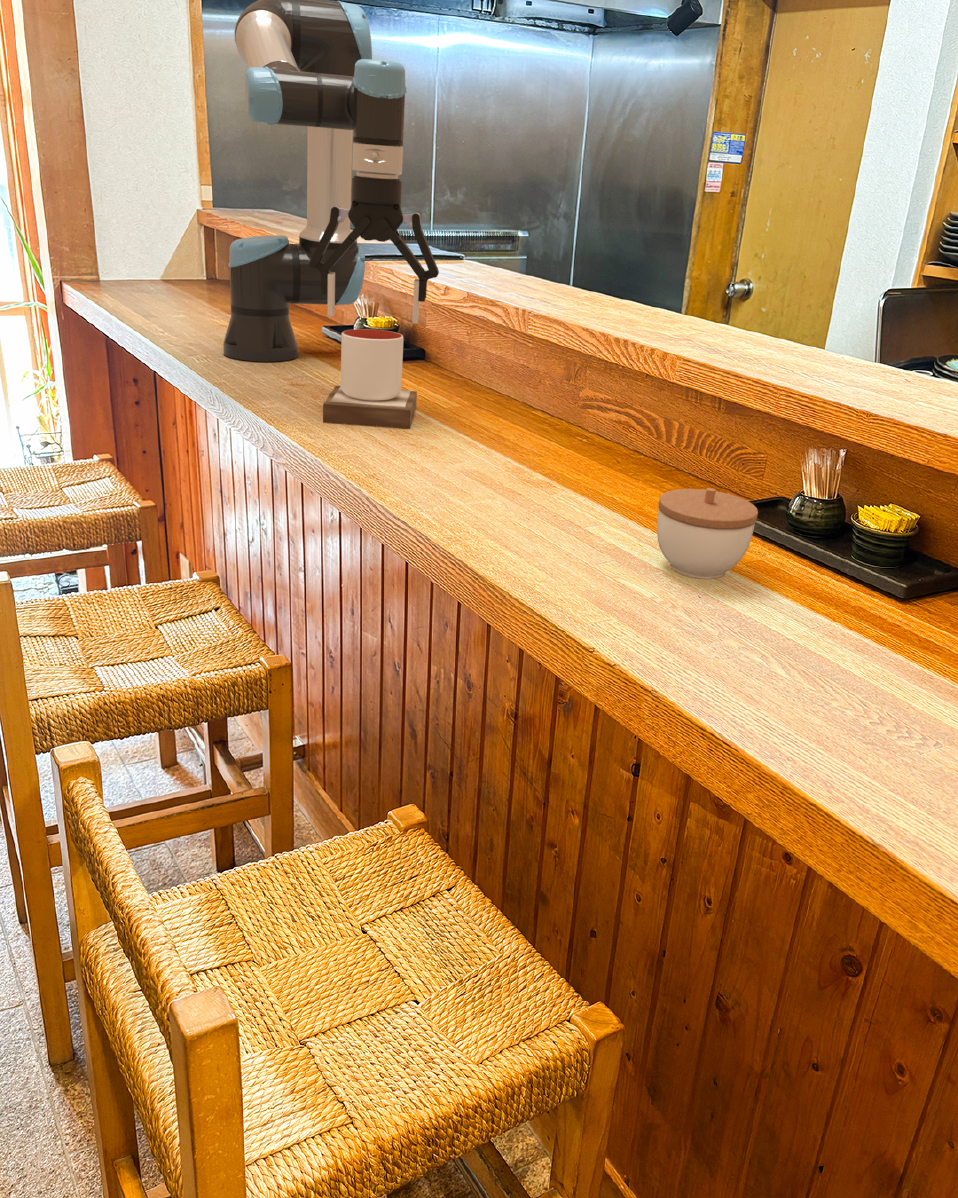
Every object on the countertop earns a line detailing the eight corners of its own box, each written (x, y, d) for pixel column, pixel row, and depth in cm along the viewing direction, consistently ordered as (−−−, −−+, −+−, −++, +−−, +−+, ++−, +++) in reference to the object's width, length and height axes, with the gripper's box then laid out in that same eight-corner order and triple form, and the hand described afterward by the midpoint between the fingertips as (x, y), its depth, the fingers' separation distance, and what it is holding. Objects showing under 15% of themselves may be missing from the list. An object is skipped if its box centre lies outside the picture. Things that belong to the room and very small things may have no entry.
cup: (392, 404, 157) (395, 341, 153) (332, 398, 159) (333, 335, 155) (407, 392, 166) (409, 332, 162) (350, 386, 168) (351, 326, 164)
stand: (335, 402, 170) (335, 383, 169) (416, 408, 170) (416, 389, 169) (322, 422, 157) (323, 402, 156) (409, 428, 158) (410, 408, 156)
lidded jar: (762, 571, 111) (778, 492, 107) (716, 596, 104) (731, 512, 100) (680, 544, 117) (693, 469, 113) (631, 565, 110) (642, 486, 106)
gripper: (290, 169, 145) (291, 316, 154) (458, 183, 145) (449, 328, 155) (299, 168, 152) (300, 308, 161) (459, 181, 152) (451, 320, 161)
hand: (373, 318), depth 158 cm, fingers open, 13 cm apart
